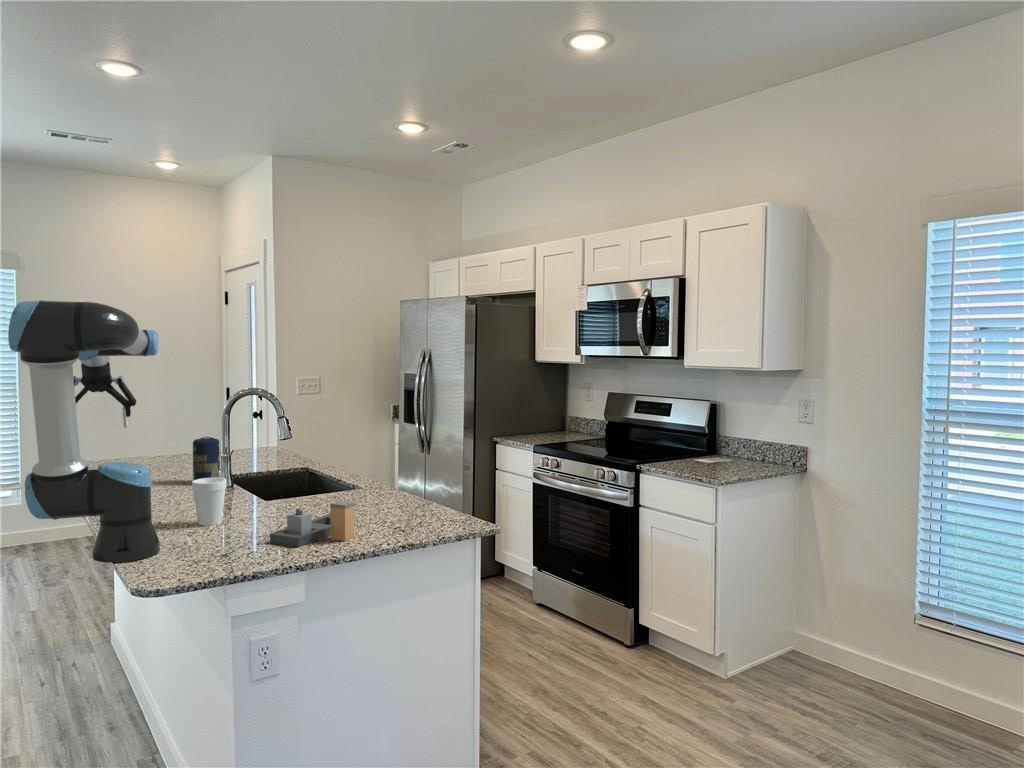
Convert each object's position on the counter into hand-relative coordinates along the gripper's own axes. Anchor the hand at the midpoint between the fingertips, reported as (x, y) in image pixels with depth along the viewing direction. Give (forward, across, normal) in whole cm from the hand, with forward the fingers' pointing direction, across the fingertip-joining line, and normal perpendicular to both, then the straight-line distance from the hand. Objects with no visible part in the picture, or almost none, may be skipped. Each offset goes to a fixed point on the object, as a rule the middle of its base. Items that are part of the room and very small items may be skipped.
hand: (101, 426), depth 223 cm
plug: (+10, -67, +58) cm, 89 cm away
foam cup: (+20, -32, +30) cm, 48 cm away
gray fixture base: (+12, -60, +51) cm, 80 cm away
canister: (+41, -27, -33) cm, 59 cm away
